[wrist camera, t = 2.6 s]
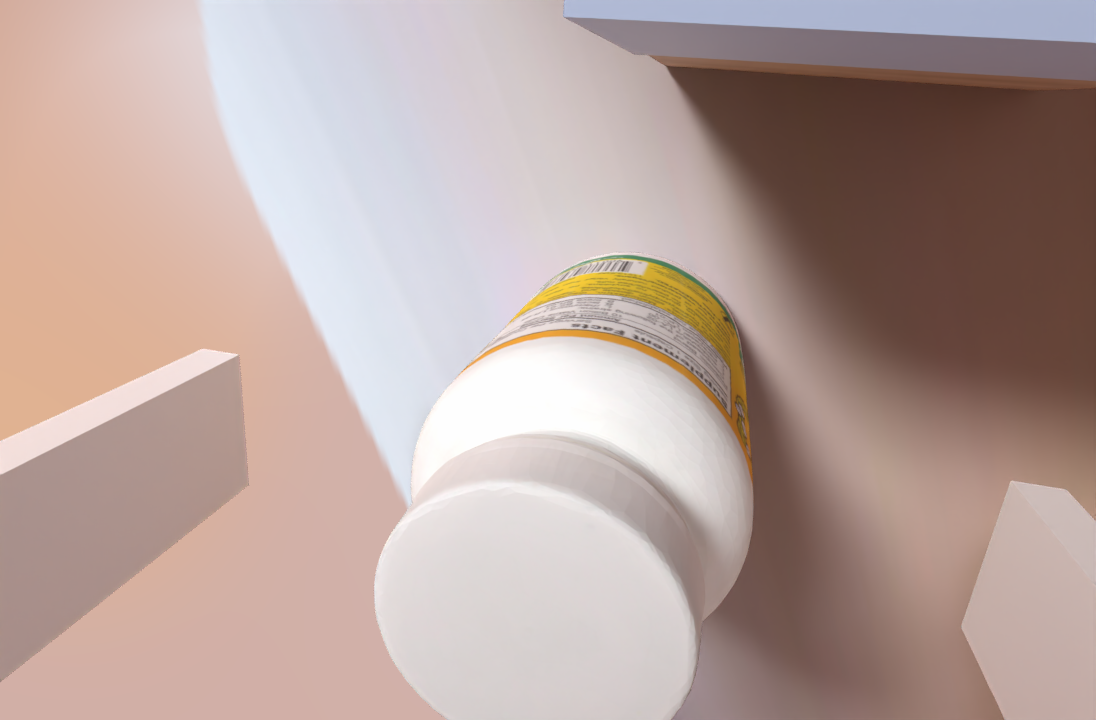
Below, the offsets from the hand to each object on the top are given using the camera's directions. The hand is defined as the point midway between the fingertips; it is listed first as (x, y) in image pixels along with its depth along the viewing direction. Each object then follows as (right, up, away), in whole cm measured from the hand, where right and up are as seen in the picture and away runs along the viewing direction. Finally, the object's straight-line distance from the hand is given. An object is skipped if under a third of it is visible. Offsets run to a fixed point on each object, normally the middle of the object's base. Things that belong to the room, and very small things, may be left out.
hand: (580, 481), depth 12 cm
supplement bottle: (+1, +2, +5) cm, 6 cm away
